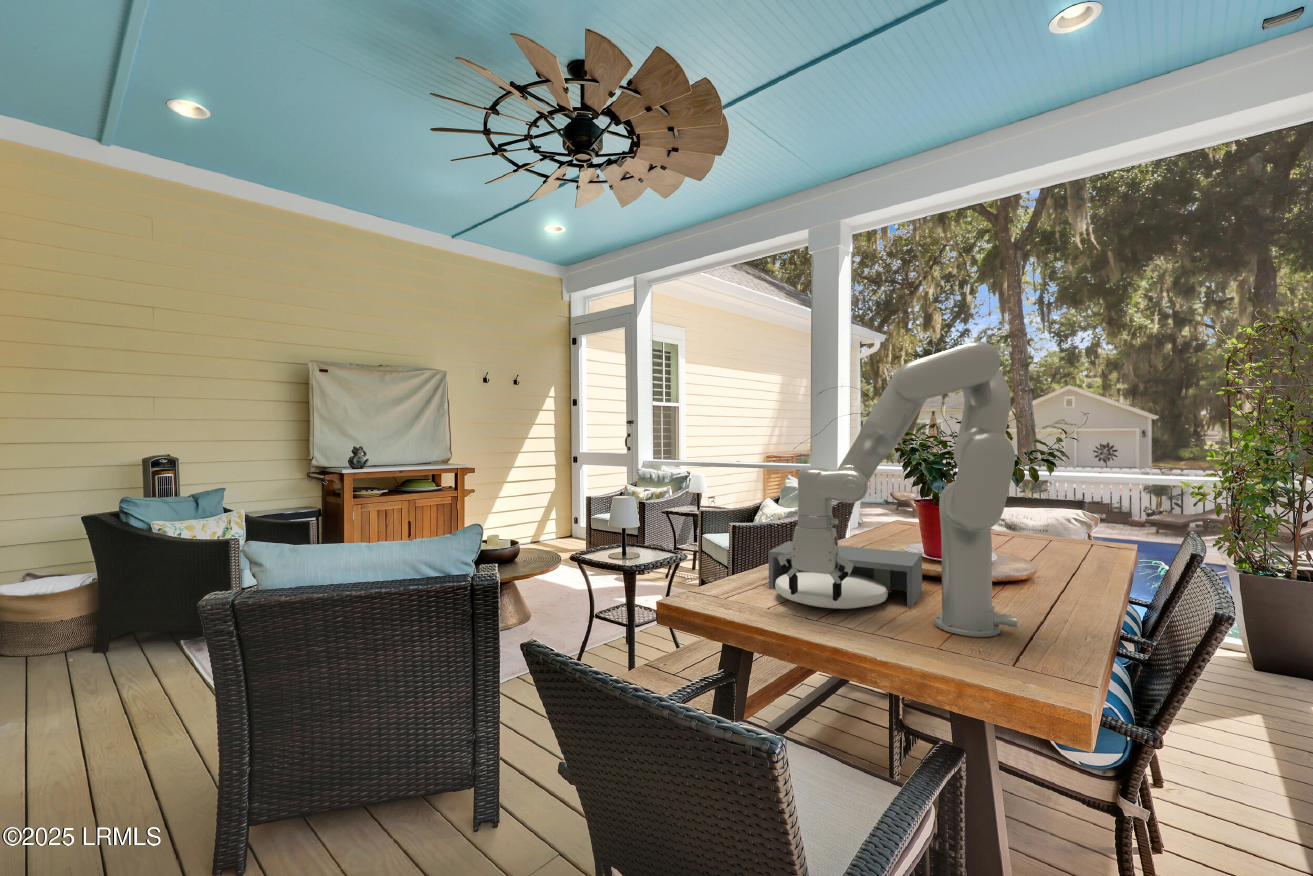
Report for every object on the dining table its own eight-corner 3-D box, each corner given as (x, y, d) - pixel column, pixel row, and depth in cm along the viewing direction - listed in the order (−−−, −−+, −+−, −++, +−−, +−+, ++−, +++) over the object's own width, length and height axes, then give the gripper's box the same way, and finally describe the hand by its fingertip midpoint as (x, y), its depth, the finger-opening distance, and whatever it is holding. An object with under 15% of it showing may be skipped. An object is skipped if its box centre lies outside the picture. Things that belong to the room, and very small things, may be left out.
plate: (805, 563, 166) (902, 578, 149) (804, 586, 166) (901, 603, 149) (755, 572, 145) (863, 590, 128) (754, 599, 144) (862, 621, 127)
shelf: (922, 591, 153) (921, 553, 153) (912, 607, 139) (912, 566, 139) (788, 575, 172) (788, 541, 172) (768, 588, 158) (768, 551, 158)
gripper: (857, 522, 133) (857, 597, 133) (783, 517, 142) (783, 587, 142) (849, 527, 126) (849, 606, 127) (772, 521, 135) (773, 595, 136)
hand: (814, 596), depth 134 cm, fingers open, 9 cm apart
